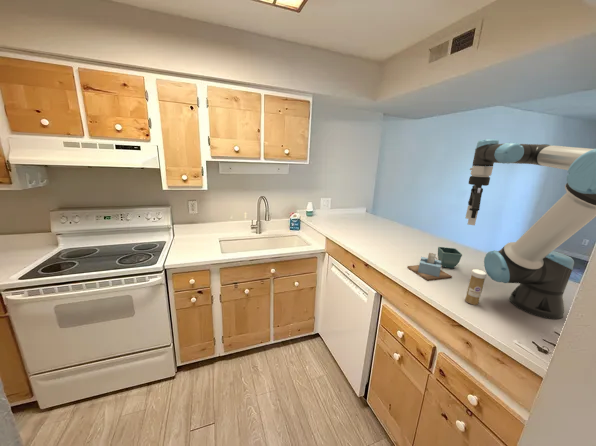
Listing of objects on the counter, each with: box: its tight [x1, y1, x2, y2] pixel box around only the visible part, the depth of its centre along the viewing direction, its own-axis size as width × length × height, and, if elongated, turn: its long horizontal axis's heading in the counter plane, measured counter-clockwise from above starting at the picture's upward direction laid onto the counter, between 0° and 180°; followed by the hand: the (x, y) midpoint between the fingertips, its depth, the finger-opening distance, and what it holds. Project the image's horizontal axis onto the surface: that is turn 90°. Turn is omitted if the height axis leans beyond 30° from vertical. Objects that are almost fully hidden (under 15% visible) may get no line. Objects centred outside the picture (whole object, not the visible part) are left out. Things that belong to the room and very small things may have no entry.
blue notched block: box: [418, 256, 442, 277], centre depth 119 cm, size 9×9×5 cm
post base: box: [407, 252, 453, 282], centre depth 119 cm, size 14×14×10 cm
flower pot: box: [437, 246, 463, 269], centre depth 128 cm, size 9×9×9 cm
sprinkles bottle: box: [464, 268, 487, 306], centre depth 95 cm, size 5×5×14 cm
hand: (469, 221), depth 114 cm, fingers open, 13 cm apart
